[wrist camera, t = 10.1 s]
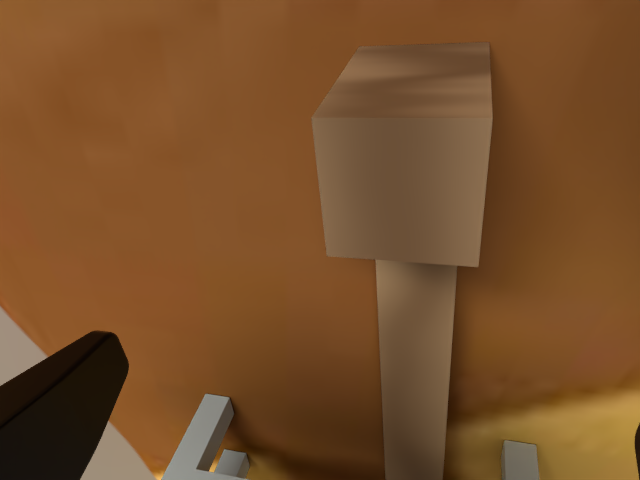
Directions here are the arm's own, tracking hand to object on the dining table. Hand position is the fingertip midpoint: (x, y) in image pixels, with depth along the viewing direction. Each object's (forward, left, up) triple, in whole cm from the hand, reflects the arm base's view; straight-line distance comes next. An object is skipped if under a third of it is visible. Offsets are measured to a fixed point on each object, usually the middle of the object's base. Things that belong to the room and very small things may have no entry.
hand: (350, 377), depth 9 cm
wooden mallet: (0, +9, -11) cm, 14 cm away
